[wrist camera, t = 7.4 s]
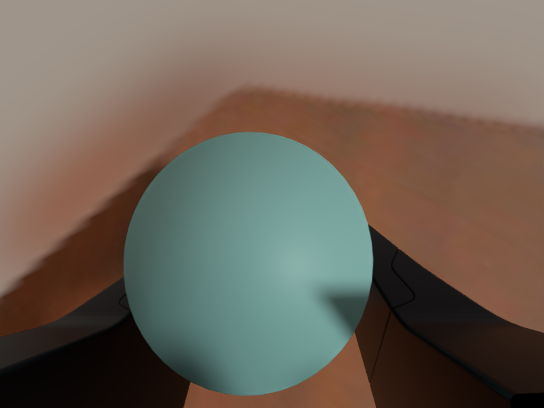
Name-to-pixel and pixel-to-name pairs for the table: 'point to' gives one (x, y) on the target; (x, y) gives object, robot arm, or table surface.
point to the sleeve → (248, 263)
